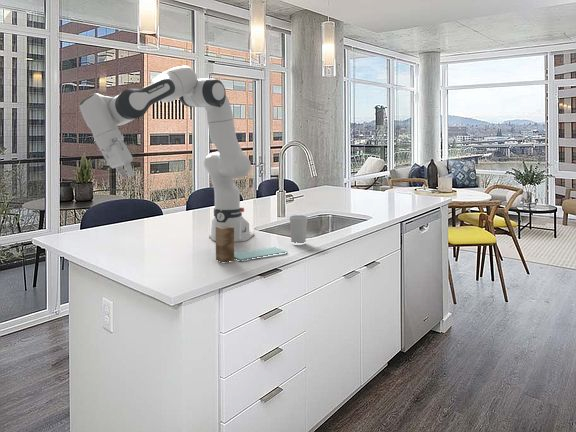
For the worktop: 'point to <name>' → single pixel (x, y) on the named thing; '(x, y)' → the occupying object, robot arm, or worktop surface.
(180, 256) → the worktop surface
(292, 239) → the cup
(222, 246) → the block
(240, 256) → the board
